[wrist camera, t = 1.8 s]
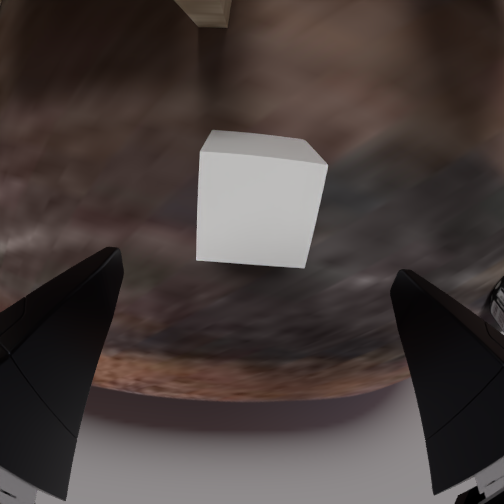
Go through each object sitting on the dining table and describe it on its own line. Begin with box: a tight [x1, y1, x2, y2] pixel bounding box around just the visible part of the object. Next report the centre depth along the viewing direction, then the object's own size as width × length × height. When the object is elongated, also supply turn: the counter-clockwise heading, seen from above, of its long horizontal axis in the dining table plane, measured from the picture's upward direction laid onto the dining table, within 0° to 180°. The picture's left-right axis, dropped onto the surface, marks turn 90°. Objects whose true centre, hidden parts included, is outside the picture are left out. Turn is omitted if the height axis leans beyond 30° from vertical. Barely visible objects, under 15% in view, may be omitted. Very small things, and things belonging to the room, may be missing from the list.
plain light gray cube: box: [196, 130, 328, 268], centre depth 15 cm, size 5×5×5 cm
